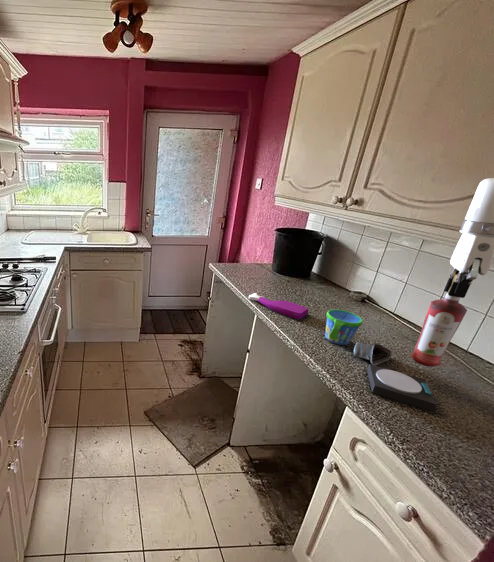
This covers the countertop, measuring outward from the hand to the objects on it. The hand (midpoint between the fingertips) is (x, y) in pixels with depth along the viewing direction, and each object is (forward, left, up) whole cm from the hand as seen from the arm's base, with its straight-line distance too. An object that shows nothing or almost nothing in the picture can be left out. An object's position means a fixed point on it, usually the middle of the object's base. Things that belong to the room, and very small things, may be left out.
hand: (453, 293), depth 86 cm
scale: (+6, +12, -28) cm, 31 cm away
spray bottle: (+43, -28, -28) cm, 58 cm away
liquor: (0, 0, -23) cm, 23 cm away
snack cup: (+20, -10, -28) cm, 36 cm away
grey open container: (+11, -4, -28) cm, 30 cm away
